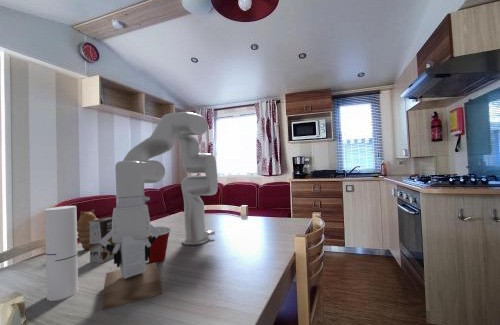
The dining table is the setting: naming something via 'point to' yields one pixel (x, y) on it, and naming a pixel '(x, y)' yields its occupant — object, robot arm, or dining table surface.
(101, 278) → the dining table surface
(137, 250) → the skincare box
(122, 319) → the dining table surface
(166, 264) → the dining table surface
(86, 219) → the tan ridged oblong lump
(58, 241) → the cylindrical container
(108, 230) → the coffee box
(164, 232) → the plastic cup
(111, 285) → the walnut base
